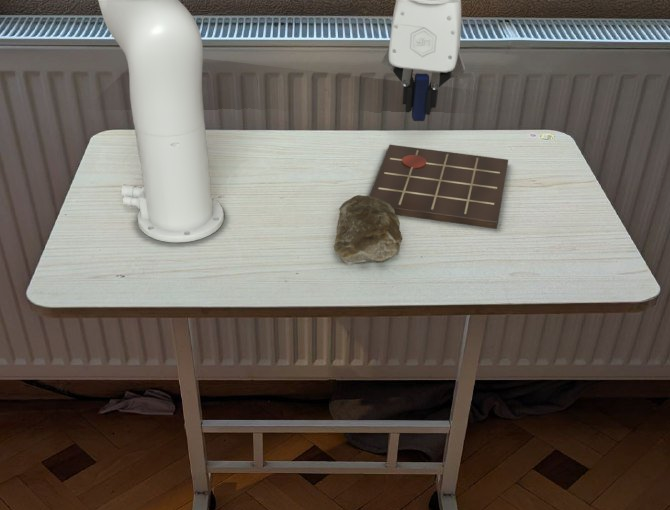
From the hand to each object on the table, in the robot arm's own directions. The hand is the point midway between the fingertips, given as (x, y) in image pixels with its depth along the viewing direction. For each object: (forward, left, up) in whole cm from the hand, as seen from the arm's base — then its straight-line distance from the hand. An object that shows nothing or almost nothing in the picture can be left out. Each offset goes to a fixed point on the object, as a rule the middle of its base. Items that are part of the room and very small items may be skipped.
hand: (418, 109), depth 130 cm
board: (+5, -5, -10) cm, 12 cm away
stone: (-3, -25, -10) cm, 27 cm away
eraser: (0, 0, -2) cm, 2 cm away
